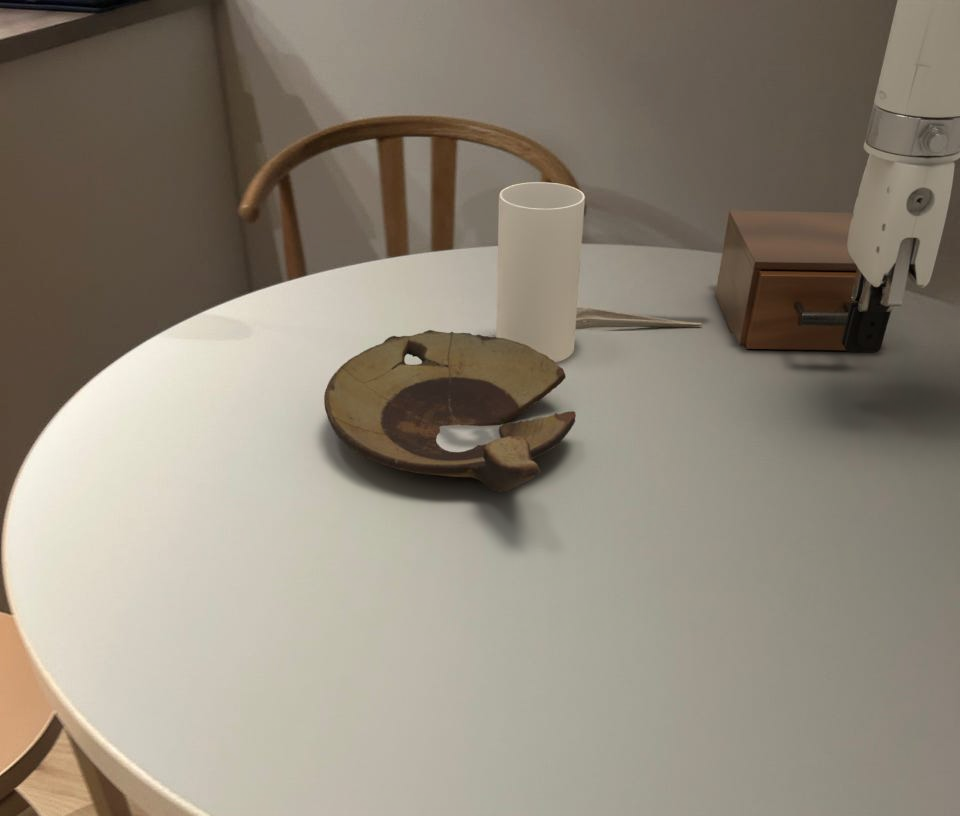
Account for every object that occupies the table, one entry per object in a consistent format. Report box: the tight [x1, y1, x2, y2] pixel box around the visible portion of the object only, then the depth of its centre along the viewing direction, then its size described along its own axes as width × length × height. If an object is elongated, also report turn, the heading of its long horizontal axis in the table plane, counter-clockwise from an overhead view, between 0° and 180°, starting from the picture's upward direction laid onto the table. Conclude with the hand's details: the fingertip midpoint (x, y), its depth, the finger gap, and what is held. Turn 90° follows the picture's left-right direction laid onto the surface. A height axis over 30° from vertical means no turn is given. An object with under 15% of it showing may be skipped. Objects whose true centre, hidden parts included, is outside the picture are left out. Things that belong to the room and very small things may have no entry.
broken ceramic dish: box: [323, 329, 577, 493], centre depth 87 cm, size 22×30×8 cm
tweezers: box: [575, 306, 703, 330], centre depth 110 cm, size 17×5×2 cm, turn 91°
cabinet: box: [715, 210, 857, 347], centre depth 108 cm, size 16×15×10 cm
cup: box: [495, 181, 586, 363], centre depth 100 cm, size 8×8×16 cm
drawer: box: [745, 269, 857, 351], centre depth 105 cm, size 19×13×8 cm
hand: (860, 347), depth 92 cm, fingers closed
